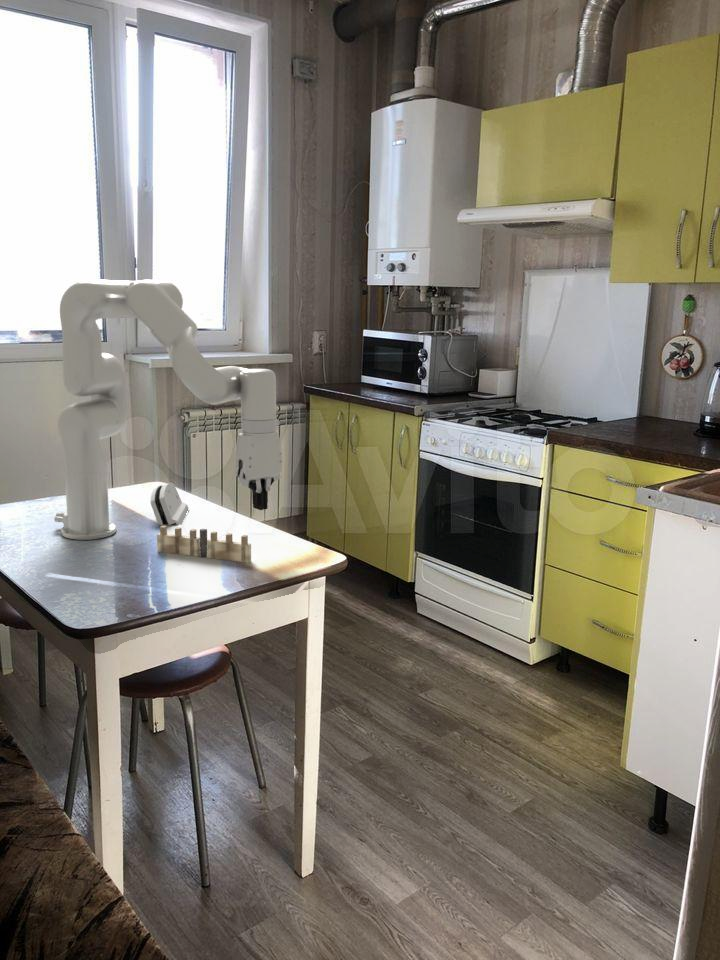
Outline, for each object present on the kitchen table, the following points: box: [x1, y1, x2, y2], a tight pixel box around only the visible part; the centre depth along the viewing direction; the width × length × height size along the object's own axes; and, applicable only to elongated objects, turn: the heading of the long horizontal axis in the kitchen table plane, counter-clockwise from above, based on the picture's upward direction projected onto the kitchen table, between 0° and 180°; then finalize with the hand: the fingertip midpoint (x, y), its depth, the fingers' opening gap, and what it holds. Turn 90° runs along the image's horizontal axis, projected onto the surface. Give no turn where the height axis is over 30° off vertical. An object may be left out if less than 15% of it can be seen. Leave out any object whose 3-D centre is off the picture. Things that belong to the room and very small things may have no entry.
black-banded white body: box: [150, 482, 190, 526], centre depth 205 cm, size 17×5×10 cm, turn 3°
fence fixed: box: [156, 525, 208, 559], centre depth 177 cm, size 12×2×6 cm, turn 75°
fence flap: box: [207, 531, 252, 564], centre depth 174 cm, size 10×1×6 cm, turn 75°
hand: (260, 508), depth 176 cm, fingers closed
